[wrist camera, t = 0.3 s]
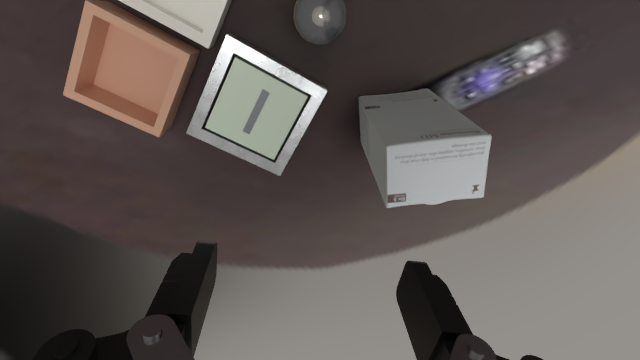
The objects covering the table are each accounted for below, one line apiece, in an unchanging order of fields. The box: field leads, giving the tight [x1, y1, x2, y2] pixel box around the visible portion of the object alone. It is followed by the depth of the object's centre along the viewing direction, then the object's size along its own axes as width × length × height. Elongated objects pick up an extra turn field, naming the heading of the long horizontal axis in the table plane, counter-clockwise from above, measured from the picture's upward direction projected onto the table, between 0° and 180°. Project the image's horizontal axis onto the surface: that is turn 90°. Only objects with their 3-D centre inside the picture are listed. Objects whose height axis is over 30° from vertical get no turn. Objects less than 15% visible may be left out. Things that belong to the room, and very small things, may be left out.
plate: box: [205, 55, 308, 160], centre depth 36 cm, size 8×8×2 cm
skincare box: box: [358, 88, 491, 208], centre depth 32 cm, size 8×6×15 cm
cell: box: [293, 0, 347, 45], centre depth 29 cm, size 4×4×10 cm
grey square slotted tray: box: [186, 33, 327, 176], centre depth 36 cm, size 11×11×2 cm
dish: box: [63, 0, 201, 137], centre depth 33 cm, size 9×9×4 cm
